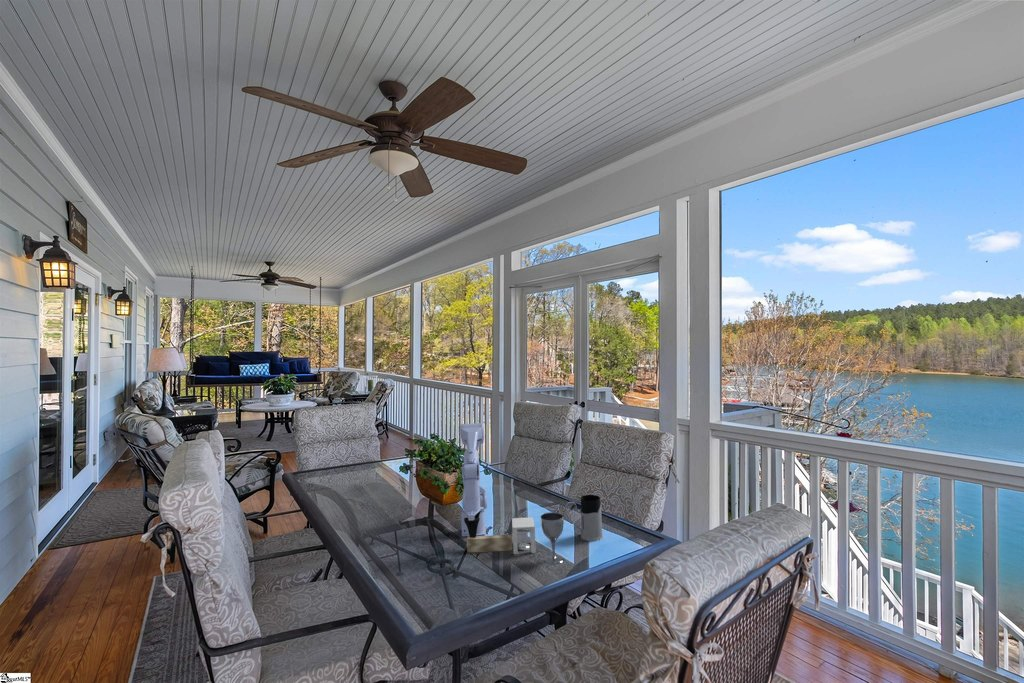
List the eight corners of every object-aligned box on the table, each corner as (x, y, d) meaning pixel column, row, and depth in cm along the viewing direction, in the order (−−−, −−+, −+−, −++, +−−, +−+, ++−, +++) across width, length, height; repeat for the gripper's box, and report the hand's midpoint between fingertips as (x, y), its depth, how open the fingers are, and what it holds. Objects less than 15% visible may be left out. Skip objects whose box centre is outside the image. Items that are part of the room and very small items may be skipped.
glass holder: (605, 540, 176) (603, 500, 177) (568, 542, 176) (566, 502, 177) (601, 531, 185) (599, 493, 185) (565, 533, 185) (563, 495, 185)
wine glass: (541, 555, 166) (539, 513, 167) (563, 553, 167) (561, 511, 167) (544, 565, 158) (542, 521, 159) (567, 563, 159) (565, 519, 159)
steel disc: (519, 551, 170) (519, 548, 170) (517, 546, 175) (517, 543, 175) (531, 550, 171) (530, 547, 171) (529, 546, 175) (529, 542, 175)
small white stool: (513, 555, 167) (512, 528, 167) (513, 543, 178) (512, 518, 178) (535, 554, 167) (534, 527, 168) (534, 542, 178) (533, 517, 178)
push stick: (467, 553, 171) (466, 539, 171) (468, 550, 174) (467, 536, 174) (512, 550, 171) (511, 537, 172) (512, 548, 174) (511, 534, 174)
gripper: (481, 502, 166) (483, 540, 165) (483, 490, 180) (485, 525, 180) (462, 503, 166) (463, 541, 165) (465, 491, 180) (467, 526, 180)
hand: (473, 533), depth 173 cm, fingers open, 7 cm apart
